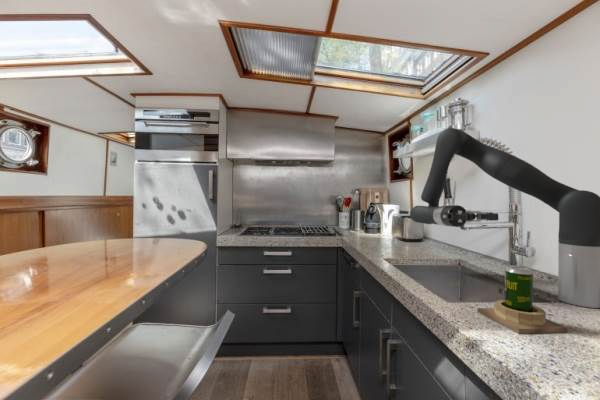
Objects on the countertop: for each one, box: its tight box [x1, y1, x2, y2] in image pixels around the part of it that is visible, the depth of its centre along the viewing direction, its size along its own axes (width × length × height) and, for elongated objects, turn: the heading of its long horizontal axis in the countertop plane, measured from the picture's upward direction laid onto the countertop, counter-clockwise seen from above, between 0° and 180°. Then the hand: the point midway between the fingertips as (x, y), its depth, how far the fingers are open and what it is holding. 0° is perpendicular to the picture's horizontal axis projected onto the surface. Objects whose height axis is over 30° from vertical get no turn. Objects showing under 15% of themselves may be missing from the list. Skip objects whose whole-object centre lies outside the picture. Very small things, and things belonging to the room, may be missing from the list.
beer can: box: [504, 264, 534, 313], centre depth 67 cm, size 5×5×12 cm
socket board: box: [477, 299, 568, 334], centre depth 67 cm, size 12×12×4 cm
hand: (484, 217), depth 83 cm, fingers open, 8 cm apart
